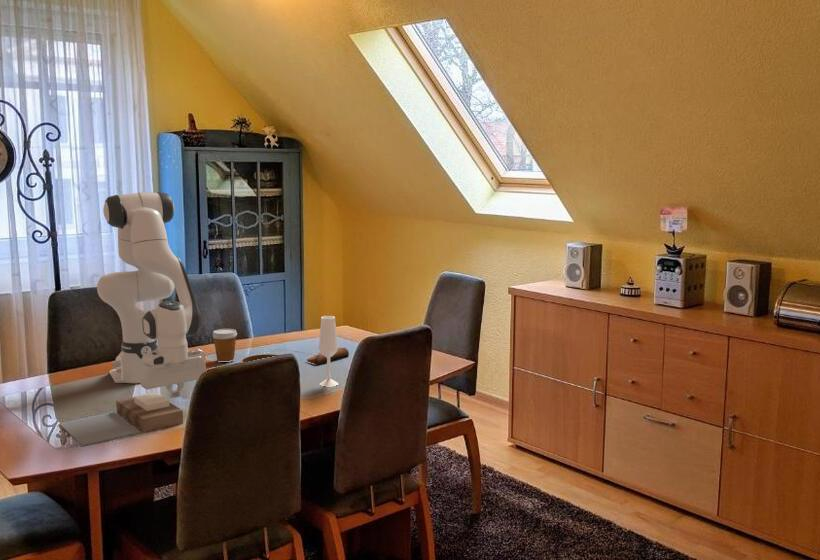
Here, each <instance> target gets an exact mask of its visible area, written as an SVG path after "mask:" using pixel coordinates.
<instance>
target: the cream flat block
mask: <svg viewBox="0 0 820 560" xmlns="http://www.w3.org/2000/svg"><path fill="white" fill-rule="evenodd" d="M133 397H134V403H135V404H137V405H138V406H140V407H141V408H143V409H144V410H146V411H150V410H155V409H159V408H164V407H169V406H170V405H169V402H170V399H168V398H167V397H165V396H163V395H162V394H160V393H158V392H156V391H155V392H151V393H145V394H140V395H134V396H133Z"/></svg>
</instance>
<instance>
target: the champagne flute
mask: <svg viewBox="0 0 820 560" xmlns="http://www.w3.org/2000/svg"><path fill="white" fill-rule="evenodd" d="M337 333H338V332H337V325H336V317H335V316H333V315H324V316H321V317H320V330H319V342H318V343H319V344H318V349H319V353H322V354H323V355H324V356H325V357H327V362H326V370H327V371H326V372H327V373H326V376H327V377H326V379H325V380H323V381H321V382H320V383H319V386H320V385H321V387H323V386H326V387H325V388H331V387H332V388H333V387H337V386H338V385H339V382H337V381H335V380H334V379H332V377H331V376H332V375H331V360H330V357H332V356H333V355H334V354H335V353H336V352H337V350H338V348H339V344H338V343H339V342H338V334H337ZM336 385H337V386H336Z"/></svg>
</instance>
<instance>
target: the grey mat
mask: <svg viewBox="0 0 820 560" xmlns="http://www.w3.org/2000/svg"><path fill="white" fill-rule="evenodd" d="M58 425H59V426H60V428H62V429H63V430H64V431H65V432H66V433H67V434H68V435H69V436H70V437H72V439H74V441H75V442H77V443H78V444H79V445H80V446H81V447H86V446H89V445H93V444H98V443H103V442H106V441H107V442H108V441H111V440H116V439H120V438H124V437H128V436H133V435H138V434H140V433H141V430H140V429H138V428H137V427H136V426H134V425H133V424H132V423H130V422H129V421H127V420H126V419H125V418H123V417H122V416H121V415H119V414H118V413H117V412H115V411H111V412H107V413H102V414H97V415H93V416H92V415H91V416H88V417H87V416H86V417H82V418H78V419H73V420H69V421H63V422H59V423H58Z"/></svg>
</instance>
